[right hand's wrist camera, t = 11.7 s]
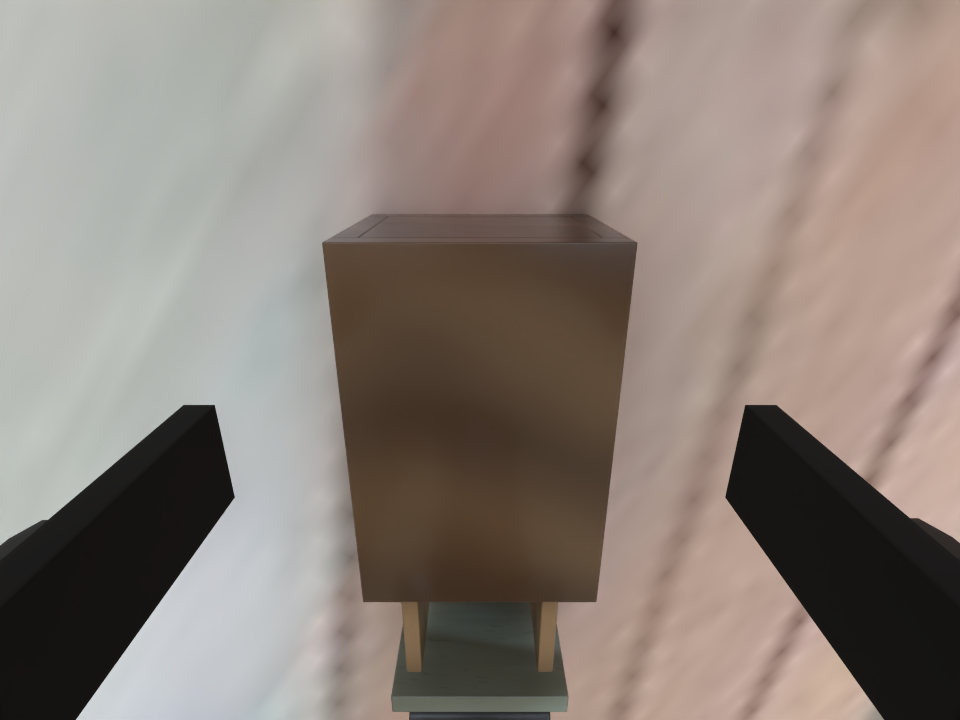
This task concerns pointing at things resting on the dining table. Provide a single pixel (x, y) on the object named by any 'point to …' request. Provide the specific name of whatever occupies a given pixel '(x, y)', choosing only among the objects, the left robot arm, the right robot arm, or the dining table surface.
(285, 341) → the dining table surface
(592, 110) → the dining table surface
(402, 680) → the drawer
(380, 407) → the cabinet
